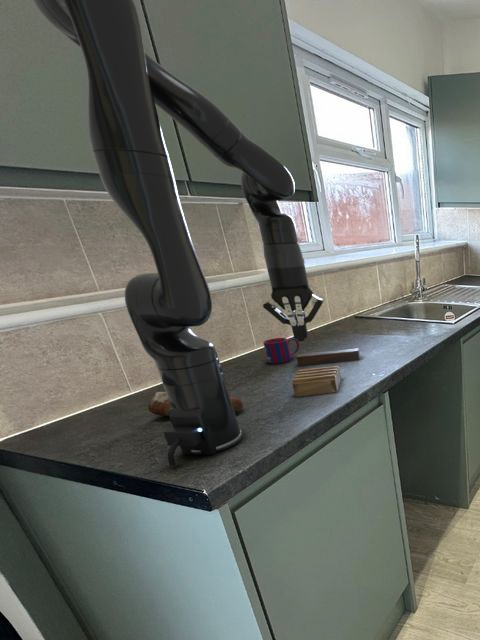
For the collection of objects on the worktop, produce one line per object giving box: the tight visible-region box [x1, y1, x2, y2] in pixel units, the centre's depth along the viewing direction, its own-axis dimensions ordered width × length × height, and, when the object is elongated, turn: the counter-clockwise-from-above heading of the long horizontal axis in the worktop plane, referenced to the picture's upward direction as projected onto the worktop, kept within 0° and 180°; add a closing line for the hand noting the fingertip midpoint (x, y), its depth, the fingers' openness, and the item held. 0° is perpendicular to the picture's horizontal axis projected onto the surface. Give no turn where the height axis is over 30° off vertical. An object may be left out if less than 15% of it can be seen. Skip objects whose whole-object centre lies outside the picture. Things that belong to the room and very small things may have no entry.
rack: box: [292, 365, 342, 398], centre depth 110 cm, size 10×10×4 cm
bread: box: [147, 391, 244, 417], centre depth 96 cm, size 6×19×6 cm, turn 90°
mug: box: [263, 337, 300, 365], centre depth 134 cm, size 7×10×7 cm
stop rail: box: [296, 347, 361, 367], centre depth 131 cm, size 3×18×3 cm, turn 106°
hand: (302, 340), depth 98 cm, fingers closed
